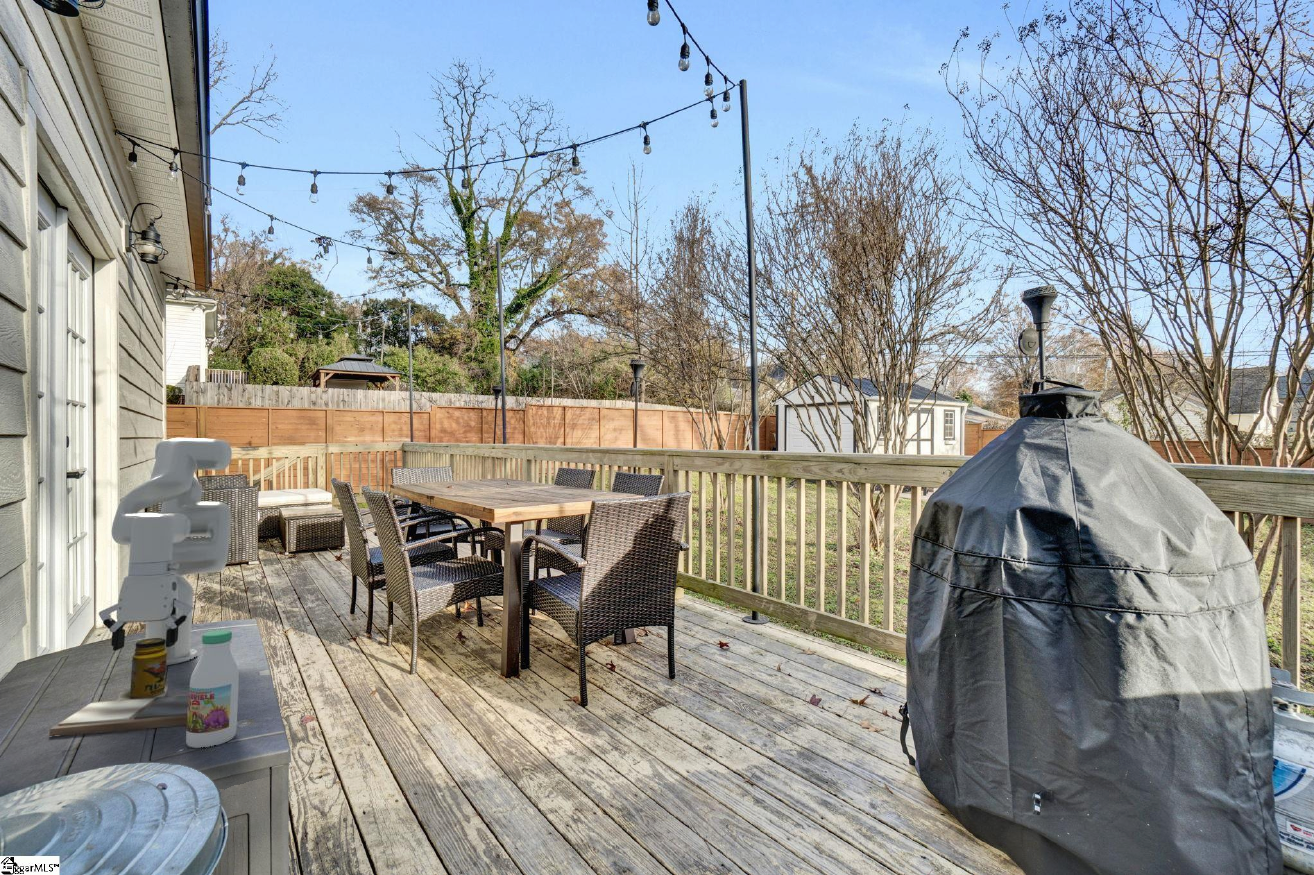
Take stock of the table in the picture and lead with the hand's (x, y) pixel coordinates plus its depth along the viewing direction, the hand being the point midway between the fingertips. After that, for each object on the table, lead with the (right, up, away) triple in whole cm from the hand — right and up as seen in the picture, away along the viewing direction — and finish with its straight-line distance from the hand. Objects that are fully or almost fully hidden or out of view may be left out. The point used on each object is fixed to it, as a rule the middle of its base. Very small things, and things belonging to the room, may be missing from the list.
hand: (144, 647), depth 138 cm
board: (+9, -10, -11) cm, 18 cm away
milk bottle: (+30, -10, -22) cm, 39 cm away
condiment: (-1, -11, 0) cm, 11 cm away
